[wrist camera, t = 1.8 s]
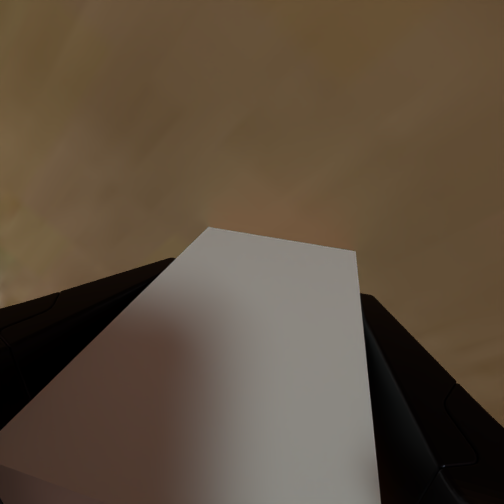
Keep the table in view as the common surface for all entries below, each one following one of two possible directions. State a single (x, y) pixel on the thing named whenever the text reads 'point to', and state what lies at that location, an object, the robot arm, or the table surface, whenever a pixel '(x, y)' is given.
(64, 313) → the robot arm
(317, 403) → the domino
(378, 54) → the table surface
